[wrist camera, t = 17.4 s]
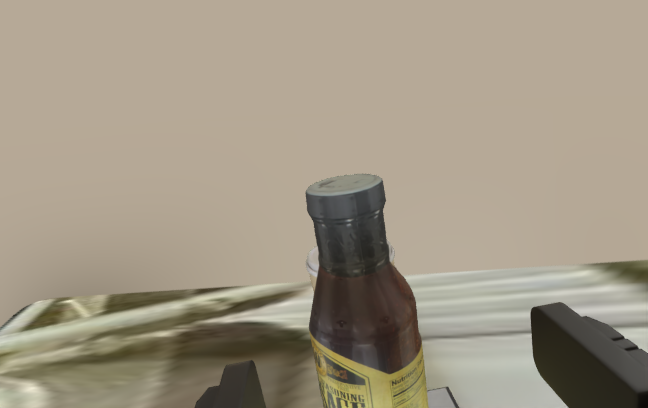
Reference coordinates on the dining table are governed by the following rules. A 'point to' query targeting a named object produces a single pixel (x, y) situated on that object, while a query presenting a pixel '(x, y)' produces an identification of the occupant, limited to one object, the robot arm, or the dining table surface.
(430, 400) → the kitchen scale
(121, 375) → the dining table surface
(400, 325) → the sauce bottle
